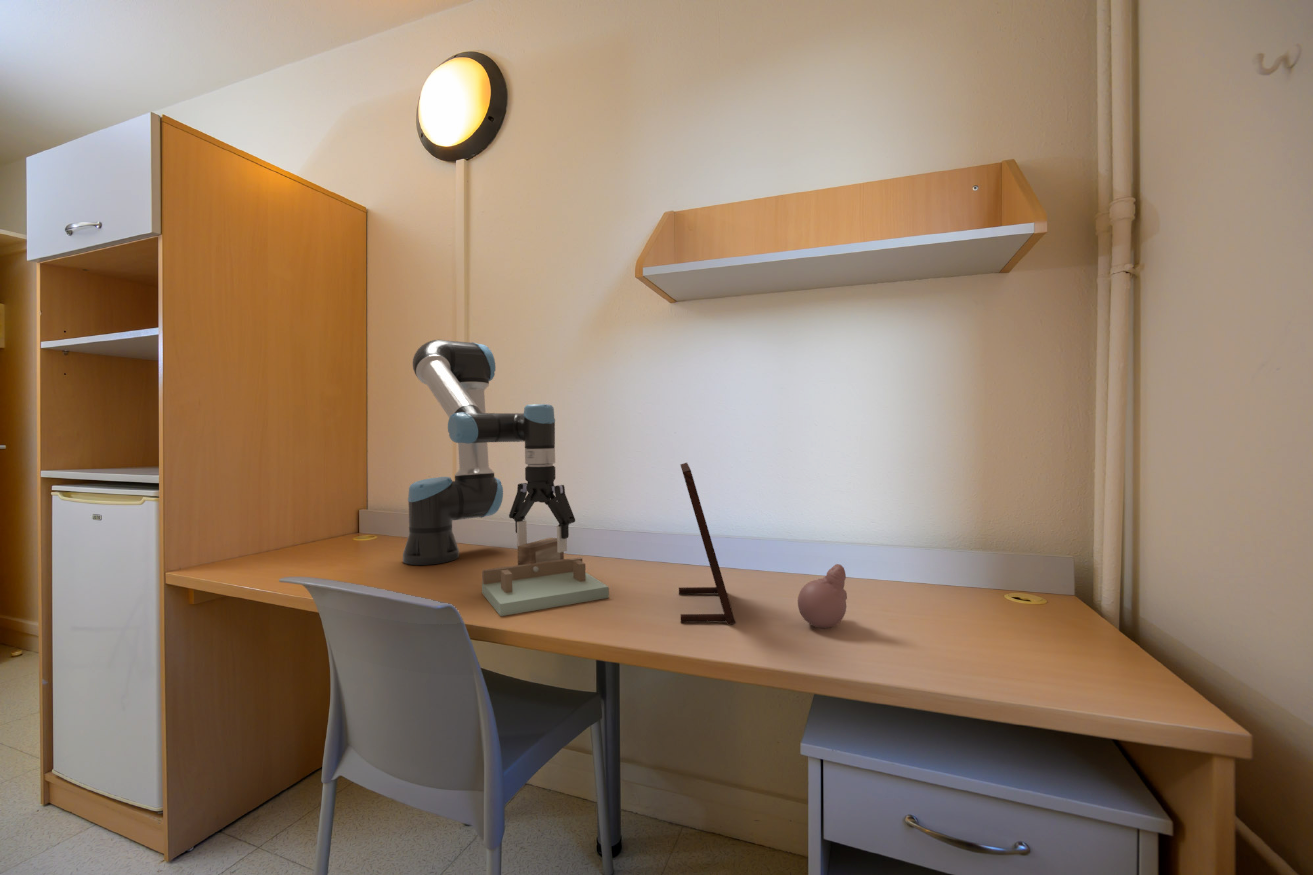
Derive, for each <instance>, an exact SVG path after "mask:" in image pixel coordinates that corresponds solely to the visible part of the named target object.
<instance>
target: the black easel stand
mask: <svg viewBox="0 0 1313 875" xmlns="http://www.w3.org/2000/svg"><path fill="white" fill-rule="evenodd" d="M679 465H680V468H681V472H682V476H683V478H684V482H685V484H686V485H685V486H686V488H687V491H688V496H689V500H690V502H691V505H692V509H693V512H694V513H693V514H694V516H695V520H696V522H697V526H698V530H699V534H700V536H701V540H702V544H703V546H704V549H705V553H706V557H707V559H708V563H709V566H710V567H709V568H710V571H711V573H712V577H713V581H714V584H715V586H714V587H713V586H711V587H710V586H707V587H706V586H705V587H704V586H702V587H700V586H699V587H697V586H695V587H690V586H689V587H688V586H687V587H685V586H684V587H678V595H701V594H702V595H703V594H704V595H705V594H707V595H709V594H710V595H716V594H717V595H718V599H719V601H720V605H721V608H722V611H723V613H695V614H694V613H686V614H685V613H681V614H680V623H703V622H705V623H707V622H708V623H714V622H715V623H716V622H717V623H718V622H721V623H722V622H723V623H724V622H726V625H727V626H730V625H732V624H736V620H735V617H734V614H733V610H732V607H731V603H730V600H729V599H730V598H729V596H728V592H727V589H726V586H725V582H724V579H723V576H722V572H721V568H720V565H719V563H718V562H719V561H718V558H717V556H716V550H715V549H714V545H713V542H712V538H711V535H710V530H709V528H708V524H707V520H706V517H705V514H704V510H703V507H702V504H701V500H700V496H699V494H698V490H697V486H696V484H695V480H694V476H693V474H692V473H693V472H692V470H691V468H690V465H689V464H688V462H684V463H681V464H679Z"/></svg>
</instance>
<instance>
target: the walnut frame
mask: <svg viewBox="0 0 1313 875" xmlns="http://www.w3.org/2000/svg"><path fill="white" fill-rule="evenodd" d="M564 552H565V551H564ZM564 552H560V553H558V552H557V537H556V538H555V537H547V538H543V539H539V540H536V541H532V542H527V544H524V545H520V546H518V547H517V565H524V564H532V563H539V562H547V561H555V560H563V559H565V558H564V557H565V555H564Z"/></svg>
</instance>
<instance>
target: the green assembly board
mask: <svg viewBox="0 0 1313 875" xmlns="http://www.w3.org/2000/svg"><path fill="white" fill-rule="evenodd" d="M481 577H482V578H481V580H482V581H481V594H482V595H483V596H484V598H485V599H486V600H487V601H488V602H489V604H490V605H491V607H492V608H493V609H494V610H495V611H496V612H497V614H498V615H499V616H500V617H505V616H509V615H510V616H511V615H516V614H521V613H527V612H532V611H533V612H534V611H539V610H546V609H550V608H556V607H563V606H569V605H574V604H580V603H586V602H591V601H598V600H603V599H609V597H610V590H609V589H610V587H609V585H607V584H605V583H603V582H601V581H600V580H598V579H597V578H595V577H594V576H592V575H591V574H589V573H587V572H586V563H585V562H583V558H582V557H580V556H579V557H571V558H564V559H563V560H555V561H547V562H539V563H532V564H524V565H518V564H517V565H511V566H502V567H494V568H486V569H482V570H481Z"/></svg>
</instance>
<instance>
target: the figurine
mask: <svg viewBox="0 0 1313 875" xmlns="http://www.w3.org/2000/svg"><path fill="white" fill-rule="evenodd" d="M842 565H843V564H838V563H836V564H834V565H833V566H832V567H831V568H830V569H828V571H827V572H826V575H825V576H823V578H818V579H813V580H811V581H809V582H807V583H806V584H805V585H803V587H801V589H800V591H799V594H798V596H797V607H798V610H799V613H800V615H801V617H802V619H803V620H804V621H806V622H807V623H809V625H811V626H813V627H815V628H817V629H818V628H819V629H829V628H833V627H835V626H836V625H838V624H839V623H840V622H841V621H842V620H843V619H844V616H845V615H846V612H847V598H848V595H847V594H848V593H847V590H845V589H844V588H845V581H846V579H847V575H846V571H845V567H844V566H842Z"/></svg>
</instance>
